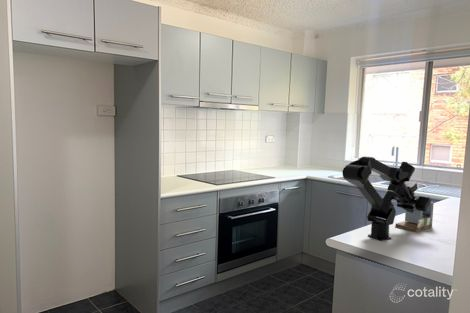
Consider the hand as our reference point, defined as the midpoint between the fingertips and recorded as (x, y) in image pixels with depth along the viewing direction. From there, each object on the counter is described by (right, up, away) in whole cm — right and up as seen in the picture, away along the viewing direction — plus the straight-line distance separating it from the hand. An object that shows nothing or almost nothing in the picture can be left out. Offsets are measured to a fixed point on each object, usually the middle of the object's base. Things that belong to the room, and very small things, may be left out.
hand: (412, 212), depth 157 cm
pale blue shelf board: (+3, -5, +1) cm, 6 cm away
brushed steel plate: (+7, -5, +5) cm, 10 cm away
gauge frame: (+2, -7, +2) cm, 7 cm away
